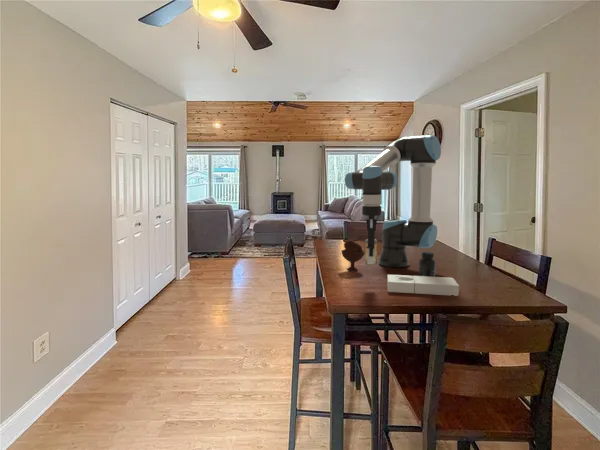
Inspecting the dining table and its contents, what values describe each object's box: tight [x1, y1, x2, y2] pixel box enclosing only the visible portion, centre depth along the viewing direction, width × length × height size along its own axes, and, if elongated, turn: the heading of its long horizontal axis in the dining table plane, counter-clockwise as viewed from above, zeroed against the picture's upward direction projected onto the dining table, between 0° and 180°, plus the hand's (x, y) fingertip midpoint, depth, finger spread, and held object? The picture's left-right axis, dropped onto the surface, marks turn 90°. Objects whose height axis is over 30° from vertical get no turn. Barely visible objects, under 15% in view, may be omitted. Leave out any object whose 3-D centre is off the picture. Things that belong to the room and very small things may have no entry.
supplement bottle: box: [418, 251, 437, 277], centre depth 164 cm, size 7×7×12 cm
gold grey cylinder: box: [364, 238, 378, 266], centre depth 153 cm, size 5×5×10 cm
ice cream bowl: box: [340, 239, 365, 272], centre depth 183 cm, size 11×11×15 cm
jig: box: [386, 274, 460, 297], centre depth 150 cm, size 12×26×4 cm, turn 78°
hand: (371, 262), depth 153 cm, fingers closed on gold grey cylinder, 4 cm apart
